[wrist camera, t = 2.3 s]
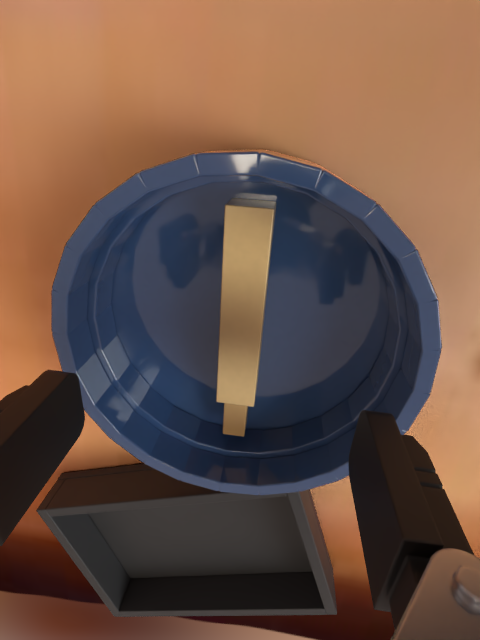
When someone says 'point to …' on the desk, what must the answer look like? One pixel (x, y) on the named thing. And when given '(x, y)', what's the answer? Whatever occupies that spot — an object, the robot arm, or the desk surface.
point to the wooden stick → (242, 306)
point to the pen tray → (190, 545)
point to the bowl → (278, 330)
